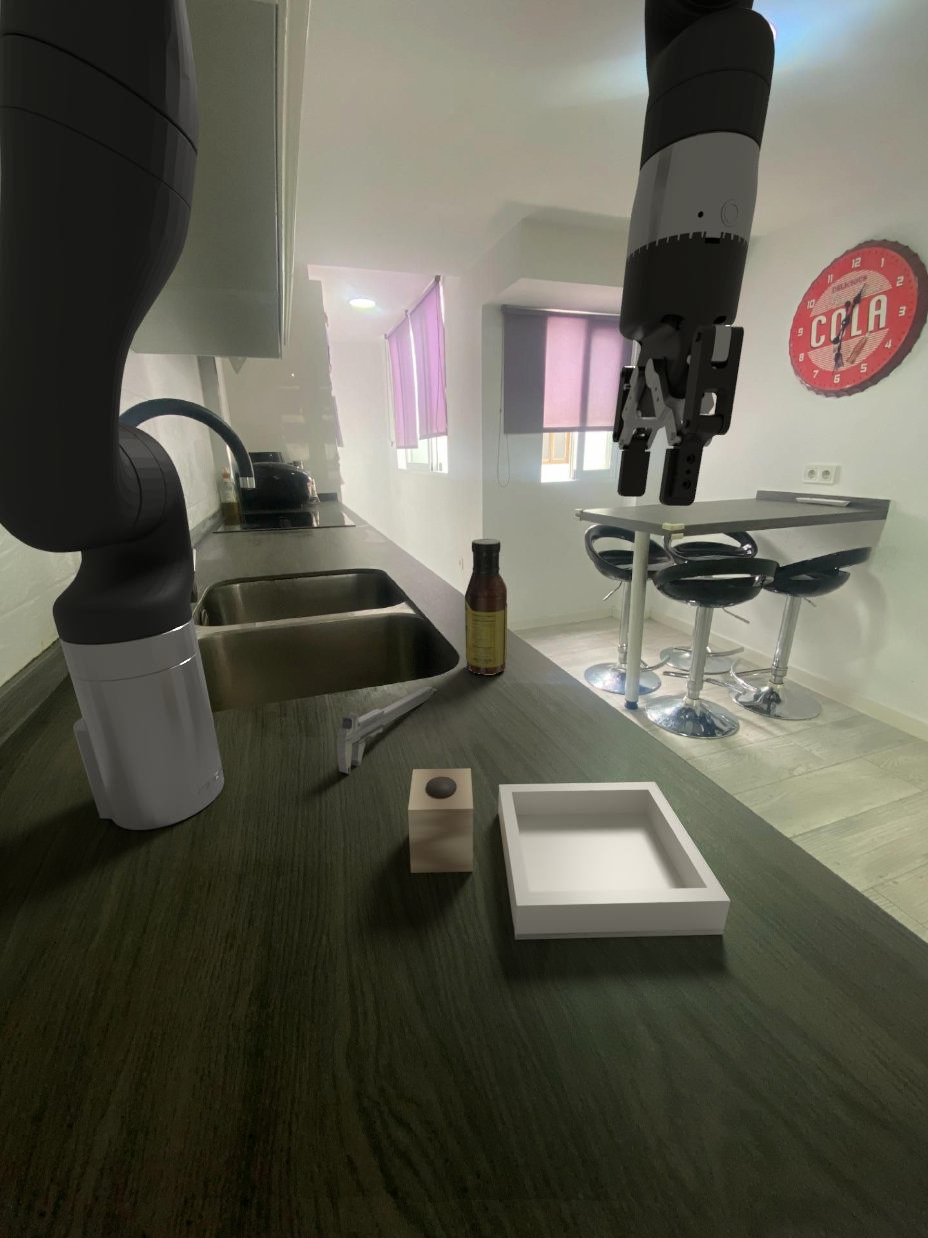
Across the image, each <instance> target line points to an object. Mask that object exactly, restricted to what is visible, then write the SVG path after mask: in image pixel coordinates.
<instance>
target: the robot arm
mask: <svg viewBox="0 0 928 1238" xmlns="http://www.w3.org/2000/svg"><path fill="white" fill-rule="evenodd" d="M754 1H755V0H644V19H643V20H644V21H643V22H644V45H645V47H644V48H645V70H646V79H647V80H646V81H647V87H648V98H647V103H646V108H645V109H646V110H645V117H644V125H643V135H642V143H641V154H640V163H639V169H638V170H639V173H638V178H637V179H638V180H637V185H636V190H635V195H634V199H633V203H632V208H631V214H630V219H629V220H630V221H629V227H628V228H629V229H628V239H627V247H626V248H627V249H626V256H625V258H626V259H625V266H624V267H625V268H624V276H623V285H622V294H621V295H622V297H621V305H620V313H619V315H620V316H619V324H618V328H619V332H620V334H621V336H622V337H623V338H625V339H626V340H630V341H635V342H637V343H638V344H639V346H640V347H639V348H640V350H639V352H638V358H637V362H636V365H635V366H629V365H627V366H625V365H624V366H623V367H621V371H620V373H619V383H618V390H617V391H618V393H617V399H616V406H615V415H614V423H613V432H612V442H613V443H617V444H618V448H619V450H620V451H621V456H620V464H619V472H618V473H619V475H618V483H617V490H616V491H617V494H618V495H619V496H620V497H627V498H631V497H632V498H636V497H637V498H639V497H642V496H644V495H645V494H646V489H647V481H648V473H649V467H650V460H651V459H650V458H651V450H650V449H651V448H652V445H653V444H654V440H655V439H656V436H657V433H658V431H659V430H660V429H663V428H665V434H666V439H667V444H668V448H665V453H664V461H663V469H662V474H661V482H660V488H659V494H658V500H659V503H660V504H661V505H664V506H668V507H690V506H691V505H692V504H694V501H695V500H696V495H697V490H698V488H697V487H698V482H699V478H700V477H699V475H700V470H701V464H702V459H703V452H704V448H707V447H708V446H710V445H711V443H712V441H713V438H714V437H715V436H724V435H726V434H727V433H728V431H729V430H730V428H731V423H732V416H733V409H734V403H735V396H736V389H737V383H738V378H739V377H738V376H739V369H740V362H741V358H742V357H741V355H742V350H743V342H744V336H745V328H744V327H743V326H742V325H733V324H734V323H735V321H736V319H737V314H738V309H739V304H740V298H741V291H742V285H743V280H744V279H743V278H744V273H745V269H746V263H747V257H748V251H749V245H750V239H751V233H752V227H753V221H754V216H755V209H756V204H757V196H758V185H759V184H758V183H759V182H758V181H759V165H760V164H759V162H760V155H761V150H762V144H763V143H762V142H763V137H764V131H765V125H766V120H767V116H768V115H767V114H768V108H769V102H770V96H771V91H772V81H773V73H774V67H775V55H776V48H775V47H776V46H775V45H776V44H775V35H774V32H773V29H772V27H771V24H770V22H769V21H768V20H767V19H766V18H765V17H764V15H762V14H761V13H760V12H758V11H757V10H754V9H753V7H754ZM188 18H189V17H188V11H187V4H186V0H0V525H1V526H2V527H3V528H4V529H5V530H6V531H7V532H8V533H9V534H10V535H11V536H13V538H15V539H17V540H18V541H19V542H21V543H23V544H24V545H26V546H28V547H31V548H33V549H36V550H39V551H42V552H48V553H55V554H56V553H58V554H63V553H65V554H67V553H78V552H80V555H81V557H80V558H81V559H80V560H81V561H80V564H79V568H78V570H77V573H76V575H75V577H74V579H73V580H72V581H71V582H70V584H69V585H67V587H66V588H65V589H64V590H63V592H61V594H59V595H58V597H57V598H56V599H55V601H54V602H53V605H52V608H51V609H52V616H53V621H54V624H55V628H56V632H57V635H58V637H59V642H60V645H61V648H62V652H63V655H64V658H65V662H66V665H67V669H68V673H69V675H70V679H71V682H72V685H73V688H74V692H75V695H76V699H77V702H78V705H79V709H80V712H81V718H79V719H78V720H76V721H75V723H74V724H73V726H72V729H73V733H74V735H75V739H76V742H77V743H76V744H77V746H78V750H79V753H80V756H81V760H82V762H83V766H84V769H85V772H86V776H87V778H88V783H89V786H90V788H91V789H90V790H91V792H92V796H93V798H94V803H95V805H96V808H97V812H98V816H99V818H100V819H110V820H112V821H113V822H114V824H116V825H117V826H119V827H121V828H123V829H127V830H133V831H137V830H138V831H142V830H143V831H147V830H154V829H159V828H162V827H167V826H171V825H174V824H176V823H179V822H181V821H183V820H186V819H188V818H190V817H191V816H194V815H196V814H197V813H199V812H200V811H202V810H204V809H205V808H206V807H207V806H209V805H210V804H211V803H212V802H213V801H214V800H216V798H217V797H218V796H219V794H220V793H221V792H222V790H223V788H224V785H225V776H224V771H223V763H222V760H221V755H220V750H219V742H218V738H217V733H216V728H215V722H214V717H213V712H212V707H211V702H210V697H209V691H208V687H207V681H206V676H205V671H204V666H203V661H202V656H201V650H200V647H199V646H200V645H199V641H198V640H199V639H198V636H197V630H196V627H195V625H196V624H195V620H194V616H193V610H192V602H191V600H192V599H191V598H192V597H191V596H192V592H193V589H194V584H195V576H196V575H195V574H196V573H195V563H194V562H195V561H194V555H193V553H194V552H193V547H192V540H191V539H192V538H191V531H190V525H189V518H188V512H187V504H186V498H185V494H184V490H183V486H182V485H183V484H182V481H181V478H180V475H179V473H178V470H177V467H176V466H175V464H174V461H173V459H172V458H171V456H170V455H169V453H168V452H167V451H166V449H165V447H163V445H162V444H161V443H160V442H159V441H158V440H157V439H156V438H154V437H153V436H152V435H151V434H149V433H148V432H146V431H145V430H142V429H141V428H139V427H135V426H134V425H130V424H129V423H128V424H127V423H124V422H120V411H121V399H122V397H121V396H122V386H123V379H124V372H125V368H126V363H127V358H128V354H129V351H130V347H131V345H132V343H133V340H134V338H135V335H136V333H137V331H138V329H139V327H140V326H141V324H142V323H143V322H144V321H143V320H144V319H145V317H146V316H147V314H148V312H150V310H151V308H152V306H153V305H154V304H155V302H156V300H157V298H158V297H159V296H160V294H161V292H162V291H163V289H164V287H165V286H166V284H167V282H168V281H169V279H170V277H171V276H172V274H173V272H174V271H175V268H176V266H177V265H178V262H179V260H180V257H181V256H182V254H183V251H184V249H185V245H186V240H187V237H188V232H189V227H190V221H191V214H192V208H193V197H194V187H195V181H196V180H195V179H196V173H197V172H196V170H197V161H198V152H199V132H200V131H199V130H200V129H199V128H200V124H199V123H200V111H199V95H198V94H199V93H198V84H197V74H196V67H195V60H194V53H193V52H194V51H193V46H192V43H193V42H192V38H191V31H190V24H189V19H188ZM713 394H715V401H714V397H713ZM712 409H714V411H713V412H714V413H710V412H711V411H712ZM669 446H670V448H669ZM671 447H672V448H671Z"/></svg>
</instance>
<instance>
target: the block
mask: <svg viewBox="0 0 928 1238" xmlns="http://www.w3.org/2000/svg"><path fill="white" fill-rule="evenodd" d="M472 783H473V782H472V770H471V768H470V767H469V768H423V769H422V768H416V769H415V768H413V770H412V776H411V783H410V793H409V801H408V807H407V815H408V817H407V818H408V819H407V820H408V836H409V857H410V859H409V861H410V873H411V874H413V873H415V874H416V873H417V874H418V873H456V872H457V873H461V872H464V873H466V872H473V871H474V868H473V867H474V802H473V801H474V800H473V785H472Z"/></svg>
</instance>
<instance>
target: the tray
mask: <svg viewBox="0 0 928 1238" xmlns="http://www.w3.org/2000/svg"><path fill="white" fill-rule="evenodd" d="M497 810H498V812H497V814H498V820H499V827H500V828H499V829H500V834H501V841H502V842H501V843H502V849H503V856H504V857H503V859H504V865H505V872H506V879H507V888H508V895H509V902H510V910H511V916H512V917H511V918H512V924H513V931H514V940H518V941H519V940H550V939H551V940H552V939H554V940H555V939H587V938H588V939H591V938H593V939H594V938H596V939H597V938H599V939H600V938H626V937H627V938H629V937H633V938H634V937H635V938H637V937H667V936H668V937H672V936H674V937H676V936H677V937H678V936H708V935H710V936H711V935H723V933H724V929H725V925H726V921H727V917H728V914H729V913H728V912H729V908H730V904H731V899H730V898H729V896H728V895H727V893H726V891H725V889H724V888H723V887H722V885H721V883H720V882H719V881H718V878H717V877H716V876H715V874H714V873H713V871H712V869H711V868H710V866H709V865H708V863H707V862H706V860H705V858H704V857H703V855H702V854H701V852H700V850H699V849H698V847H697V846H696V844H695V843H694V841H693V840H692V838H691V837H690V835H689V834H688V832H687V830H686V829H685V827H684V826H683V824H682V823H681V821H680V819H679V818H678V816H677V814H676V813H675V812H674V809H673V808H672V807H671V805H670V804H669V802H668V801H667V799H666V797H665V796H664V793H662V791H661V789H660V788H659V786H658V785H657V783H656V781H635V782H634V781H633V782H632V781H629V782H628V781H627V782H626V781H625V782H621V781H619V782H574V783H571V782H569V783H563V782H562V783H523V784H522V783H514V784H513V783H512V784H510V783H509V784H507V783H506V784H498V808H497Z"/></svg>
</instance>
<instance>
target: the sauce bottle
mask: <svg viewBox="0 0 928 1238" xmlns="http://www.w3.org/2000/svg"><path fill="white" fill-rule="evenodd" d="M501 547H502V546H501V541H500V540H499V539H495V538H478V539H477V538H476V539H474V540H472V541H471V552H472V563H473V565H472V573H471V575H470V578H469V582H468V584H467V588H466V591H465V593H464V616H465V617H464V619H465V620H464V624H465V625H464V626H465V628H464V629H465V630H464V631H465V660H466V667H467V668H469V669H470V670H472V671H473V672H475V673H480V674H494V673H497V672H500V671H502V670H504V669H505V670H506V666H507V665H506V664H507V663H506V661H507V656H508V651H507V650H508V603H507V602H508V590H507V589H508V587H507V585H506V583H505V581H504V578H502V576H501V574H500V552H501ZM469 669H468V670H469ZM505 670H504V671H505ZM472 671H471V672H472ZM473 672H472V673H473ZM475 673H474V674H475Z"/></svg>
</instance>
